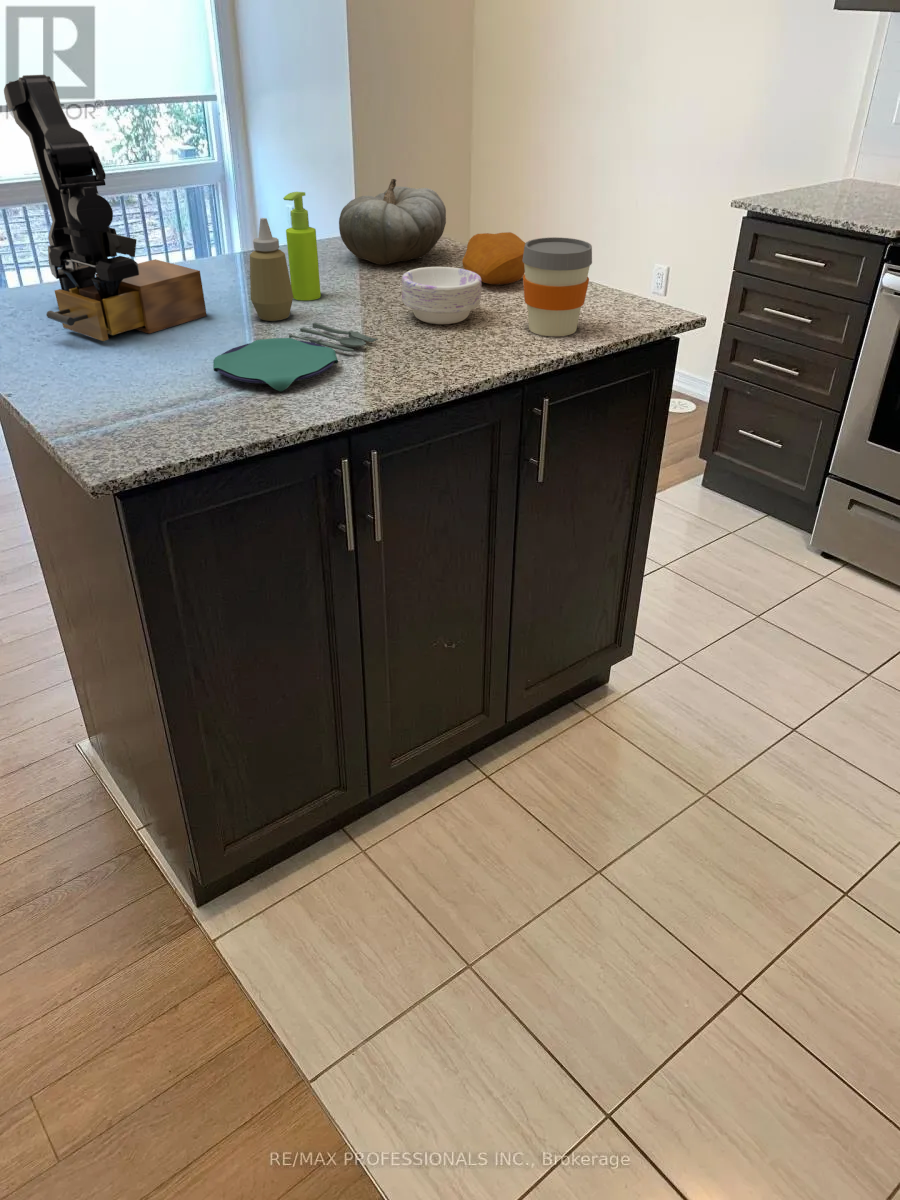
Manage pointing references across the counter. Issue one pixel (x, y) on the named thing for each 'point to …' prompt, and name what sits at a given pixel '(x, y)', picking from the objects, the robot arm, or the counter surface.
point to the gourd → (393, 224)
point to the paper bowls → (441, 293)
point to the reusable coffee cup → (555, 283)
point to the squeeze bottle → (269, 277)
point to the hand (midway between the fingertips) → (103, 310)
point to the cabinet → (167, 294)
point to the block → (93, 296)
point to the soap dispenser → (302, 252)
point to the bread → (495, 257)
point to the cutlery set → (285, 357)
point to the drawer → (98, 313)
